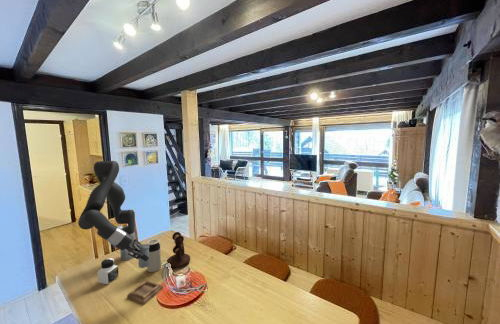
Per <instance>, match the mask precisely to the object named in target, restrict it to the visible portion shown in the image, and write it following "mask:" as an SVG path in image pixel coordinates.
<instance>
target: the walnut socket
mask: <svg viewBox="0 0 500 324" xmlns="http://www.w3.org/2000/svg"><path fill="white" fill-rule="evenodd" d="M162 288H163V289H164V285H161V284H159V283H156V282H153V281H151V280H150V281H149V280H147V279H146V280H144V281H143V282H142V283H140V284H138V286H137V287H135V288H134V289H132V290H131V291H130V292H129V293H128V294H127V295H126V296H127V298H128V299H130V300H133V301H135V302H138V303H140V304H142V305H146V304H147V303H148V302H149V301H150V300H152V299H153V298H154V297H155V296H156V295H157V294H159V293H160V292H161V291H162V290H163V289H162ZM161 289H162V290H161ZM160 290H161V291H160ZM159 291H160V292H159ZM158 292H159V293H158Z"/></svg>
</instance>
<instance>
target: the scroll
mask: <svg viewBox="0 0 500 324" xmlns="http://www.w3.org/2000/svg"><path fill="white" fill-rule="evenodd" d="M171 238H172V240H173V241H174V244H175V245H174V247H173V248H172V252H173V253H174V254H173V255H171V256H169V257H168V258H167V259H166V263H167V262H168V263H170V264H171V266H172V267H173V268H174V269H175V268H179V267H180V268H181V267H183V266H186V265H189V264H190V261H191V256H190V254H188V253H185V243H184V240H185V238H184V236H183V235H182V234H181V232H179V231H175V232H174V233H173V234H172V237H171ZM172 267H171V268H172ZM173 268H172V269H173Z"/></svg>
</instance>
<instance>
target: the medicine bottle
mask: <svg viewBox="0 0 500 324" xmlns="http://www.w3.org/2000/svg"><path fill="white" fill-rule="evenodd" d="M100 265H101V267H100V269H99V270H97V279H98V280H97V281H98V284H103V285H104V284H105V285H110V284H111V283H113V282H114V281H115V280H116V279H118V278H119V274H120V273H119V265H116V264H115V259H114V258H111V257H109V258H105V259H103V260H102V261H101V264H100Z"/></svg>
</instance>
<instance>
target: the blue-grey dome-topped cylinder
mask: <svg viewBox="0 0 500 324" xmlns="http://www.w3.org/2000/svg"><path fill="white" fill-rule="evenodd" d="M138 248H139V249H140V251H141V252H142V253H143V254H145V255H146V256H148V257H149V245H148V244H146V243H145V244H142V245H140V246H138ZM138 253H139V252H138ZM137 261H138V268H140V269H144V268H147V266H149V259H148V260H147V261H144V260H143V259H141V258H139V259H137Z"/></svg>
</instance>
